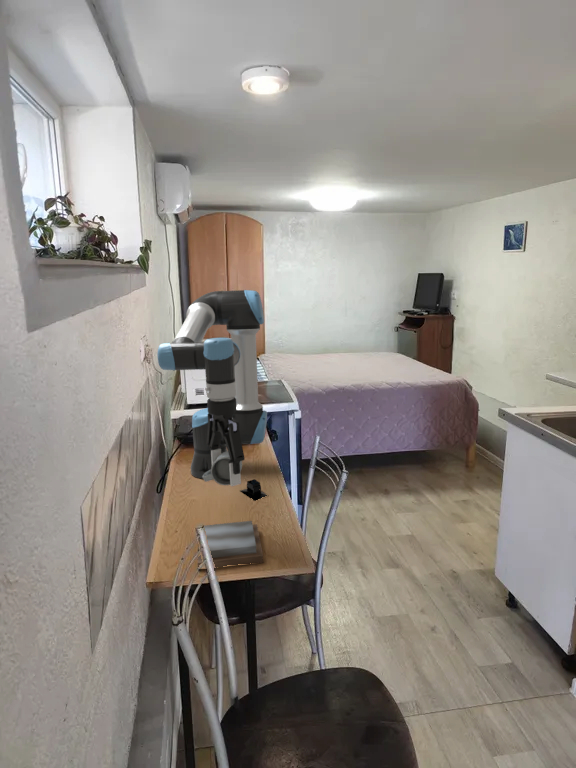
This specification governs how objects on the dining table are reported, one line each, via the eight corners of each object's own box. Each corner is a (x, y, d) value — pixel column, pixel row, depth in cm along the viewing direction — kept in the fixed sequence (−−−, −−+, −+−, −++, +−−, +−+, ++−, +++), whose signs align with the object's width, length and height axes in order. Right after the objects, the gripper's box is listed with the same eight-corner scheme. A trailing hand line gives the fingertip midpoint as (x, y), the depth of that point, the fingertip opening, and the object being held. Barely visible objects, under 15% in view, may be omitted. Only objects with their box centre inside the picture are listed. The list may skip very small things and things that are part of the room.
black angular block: (273, 498, 158) (273, 485, 157) (254, 505, 154) (253, 491, 153) (253, 485, 168) (252, 473, 167) (234, 491, 164) (234, 478, 163)
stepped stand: (199, 536, 135) (198, 523, 135) (257, 530, 138) (256, 517, 137) (198, 570, 120) (196, 555, 119) (263, 562, 122) (262, 548, 121)
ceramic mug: (243, 473, 137) (242, 447, 135) (240, 485, 129) (239, 457, 127) (205, 474, 137) (203, 448, 136) (200, 486, 129) (198, 458, 128)
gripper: (190, 392, 135) (196, 468, 140) (228, 408, 117) (233, 496, 121) (215, 388, 139) (220, 463, 144) (256, 403, 121) (259, 488, 125)
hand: (226, 478), depth 132 cm, fingers closed on ceramic mug, 10 cm apart
